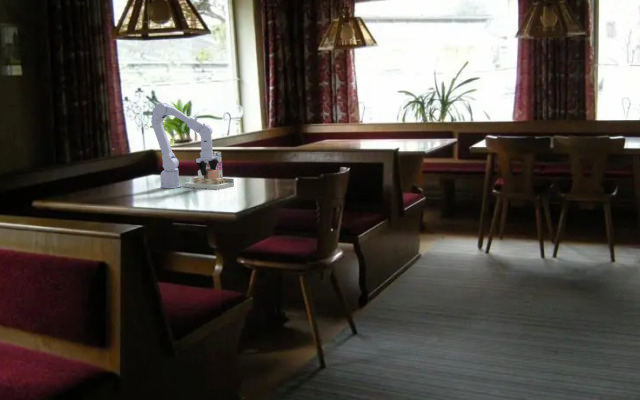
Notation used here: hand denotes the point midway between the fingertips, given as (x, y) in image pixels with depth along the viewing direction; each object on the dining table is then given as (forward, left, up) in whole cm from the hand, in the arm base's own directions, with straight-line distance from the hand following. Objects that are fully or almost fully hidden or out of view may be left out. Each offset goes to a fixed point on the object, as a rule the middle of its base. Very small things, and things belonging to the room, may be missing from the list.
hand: (208, 174), depth 361 cm
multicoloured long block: (0, 0, -4) cm, 4 cm away
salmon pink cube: (+4, 0, -2) cm, 4 cm away
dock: (0, 0, -6) cm, 6 cm away
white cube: (-4, 0, -2) cm, 4 cm away
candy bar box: (-13, +16, -6) cm, 22 cm away
